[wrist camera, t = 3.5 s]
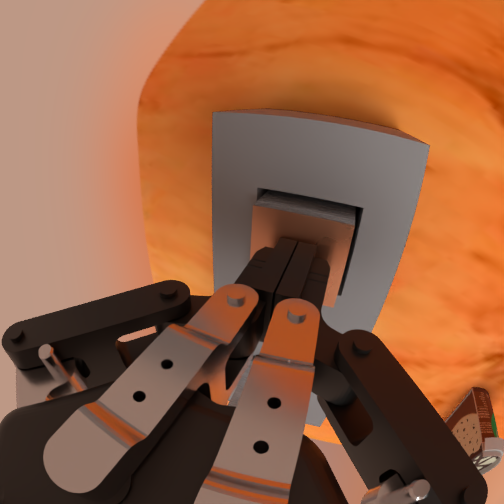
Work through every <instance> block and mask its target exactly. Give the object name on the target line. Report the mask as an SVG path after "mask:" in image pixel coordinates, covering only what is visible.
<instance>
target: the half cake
mask: <svg viewBox="0 0 504 504" xmlns="http://www.w3.org/2000/svg"><path fill="white" fill-rule="evenodd" d="M445 423H446V425H447V426H448V427H449V429H450V430H451V432H452V433H453V434H454V436H455V437H456V439H457V440H458V441H459V443H460V444H461V446H462V447H463V448H464V450H465V451H466V453H467V454H468V456H469V457H470V458H471V460H472V461H473V463H474V464H475V466H476V467H477V469H478V470H479V472H480V473H481V475H483V474H485V473H486V472H488V471H490V470H491V469H493V468H494V467H496V466H497V465H498V464H499V463H500V461H501V457H502V456H503V452H504V440H503V439H502V438H499V436H498V431H497V426H496V422H495V417H494V413H493V409H492V405H491V401H490V397H489V394H488V392H487V391H486V390H485V389H482V388H477V387H472V389H471V390H470V391H469V393H468V394H467V395H466V396H465V398H464V399H463V400H462V402H461V403H460V404H459V405H458V406H457V408H456V409H455V410H454V411H453V412H452V414H451V415H450V416H449V417H448V418H447V419H446V421H445Z"/></svg>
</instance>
